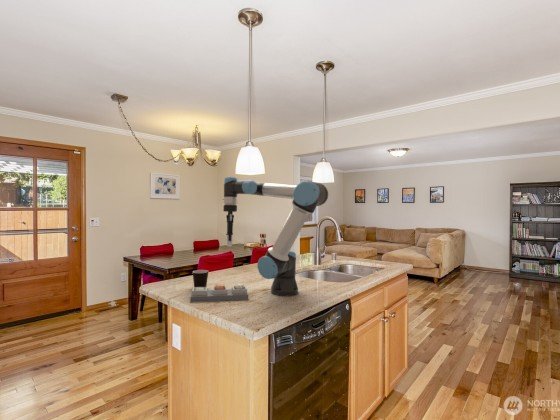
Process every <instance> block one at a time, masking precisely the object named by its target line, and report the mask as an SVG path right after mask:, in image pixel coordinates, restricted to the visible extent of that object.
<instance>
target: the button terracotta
mask: <svg viewBox="0 0 560 420" xmlns="http://www.w3.org/2000/svg"><path fill="white" fill-rule="evenodd" d="M225 286H226V285H225V284H221V283H218V284H215V285H214V287H215V290H225Z"/></svg>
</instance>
